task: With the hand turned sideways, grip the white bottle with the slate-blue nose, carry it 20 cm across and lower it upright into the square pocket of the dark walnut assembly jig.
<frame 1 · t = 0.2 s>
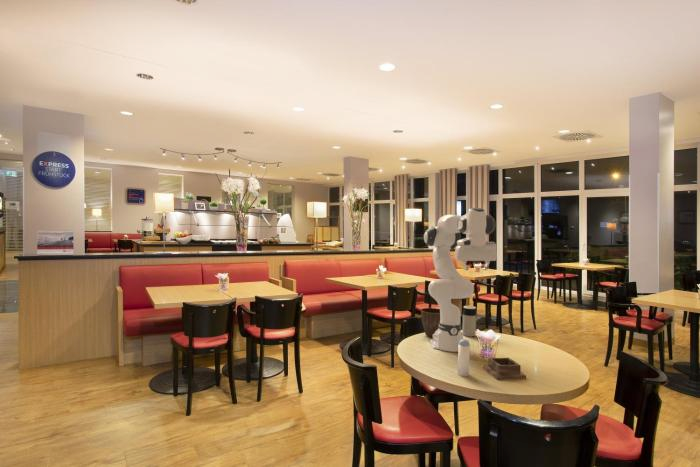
hand: (475, 270, 189), 48 cm above the table, tool pointing down, fingers open, 8 cm apart
white bottle: (463, 374, 182), on the table
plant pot: (432, 336, 244), on the table
cradle: (503, 373, 184), on the table
travel mug: (468, 335, 247), on the table
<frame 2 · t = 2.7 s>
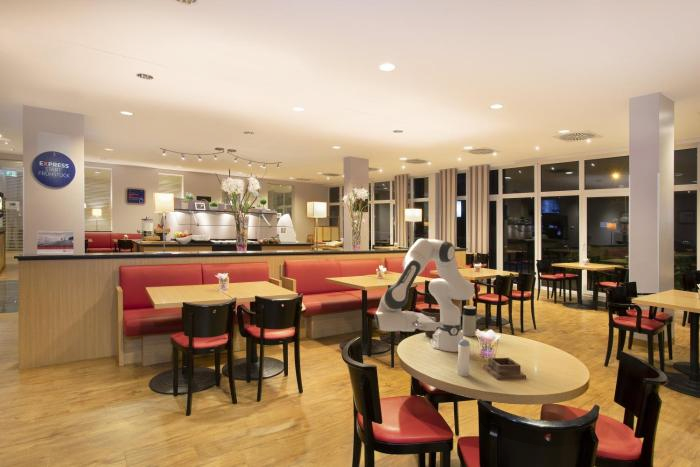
hand: (438, 321, 179), 25 cm above the table, tool horizontal, fingers open, 8 cm apart
nothing on the table moved.
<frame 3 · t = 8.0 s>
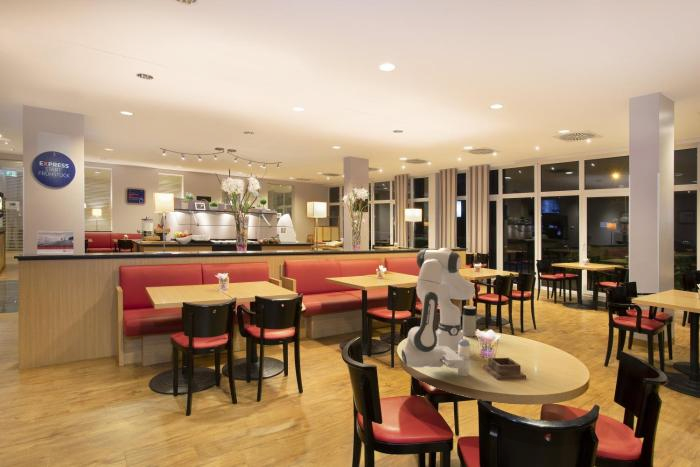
hand: (465, 356, 182), 9 cm above the table, tool horizontal, fingers closed on white bottle, 5 cm apart
white bottle: (463, 374, 182), on the table, touching gripper
everything else where it was.
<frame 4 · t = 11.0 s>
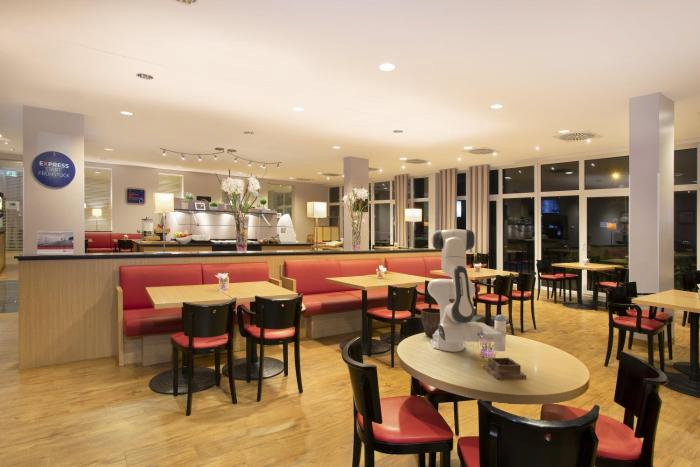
hand: (501, 331, 183), 20 cm above the table, tool horizontal, fingers closed on white bottle, 5 cm apart
white bottle: (499, 349, 184), point 11 cm above the table, touching gripper
everything else where it was.
when the fingers open (11 cm above the table, at t = 13.8 s): white bottle drops 1 cm, resting on cradle.
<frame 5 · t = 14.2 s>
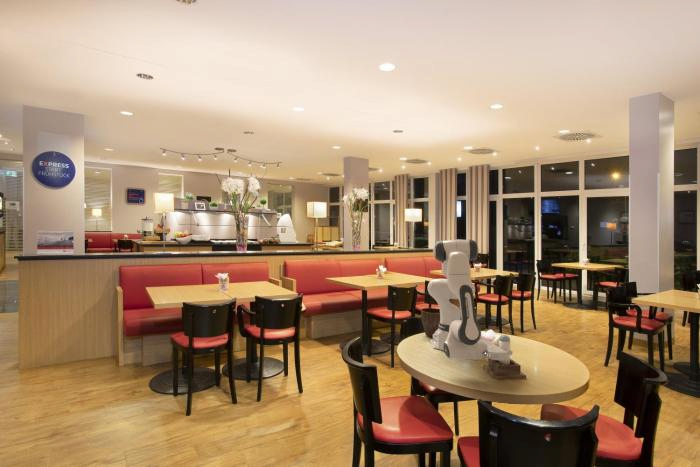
hand: (506, 349, 184), 11 cm above the table, tool horizontal, fingers open, 8 cm apart
white bottle: (503, 369, 184), point 2 cm above the table, touching cradle
everything else where it was.
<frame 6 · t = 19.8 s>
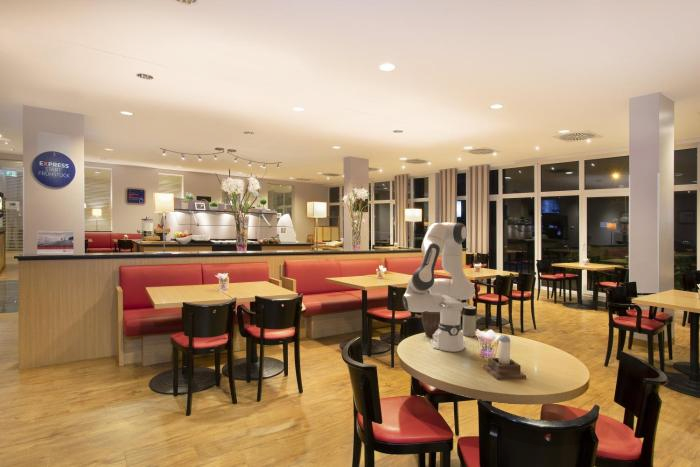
hand: (464, 302, 189), 32 cm above the table, tool horizontal, fingers open, 8 cm apart
nothing on the table moved.
at the end: white bottle 0.0 cm off-centre on the cradle, point 1.5 cm above the cradle's base; white bottle tilted 0°; the gripper is holding nothing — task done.
